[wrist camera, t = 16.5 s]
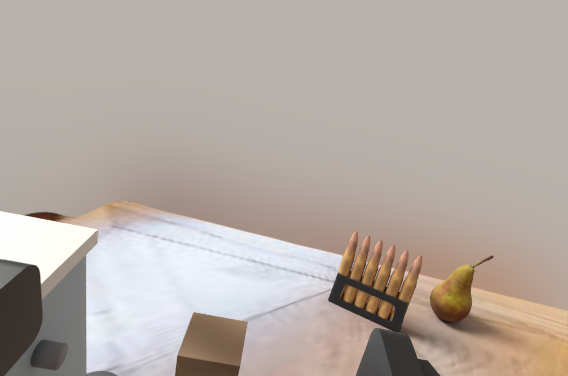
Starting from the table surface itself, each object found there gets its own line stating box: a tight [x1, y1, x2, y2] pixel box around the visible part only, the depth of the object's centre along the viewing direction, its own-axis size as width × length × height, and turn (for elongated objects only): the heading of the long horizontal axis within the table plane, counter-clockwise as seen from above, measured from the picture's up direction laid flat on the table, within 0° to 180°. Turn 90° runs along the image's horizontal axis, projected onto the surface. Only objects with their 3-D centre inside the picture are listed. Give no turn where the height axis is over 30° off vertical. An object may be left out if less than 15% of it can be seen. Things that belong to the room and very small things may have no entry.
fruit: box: [430, 256, 493, 322], centre depth 56 cm, size 6×6×12 cm
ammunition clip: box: [328, 231, 422, 332], centre depth 53 cm, size 11×2×12 cm, turn 64°
